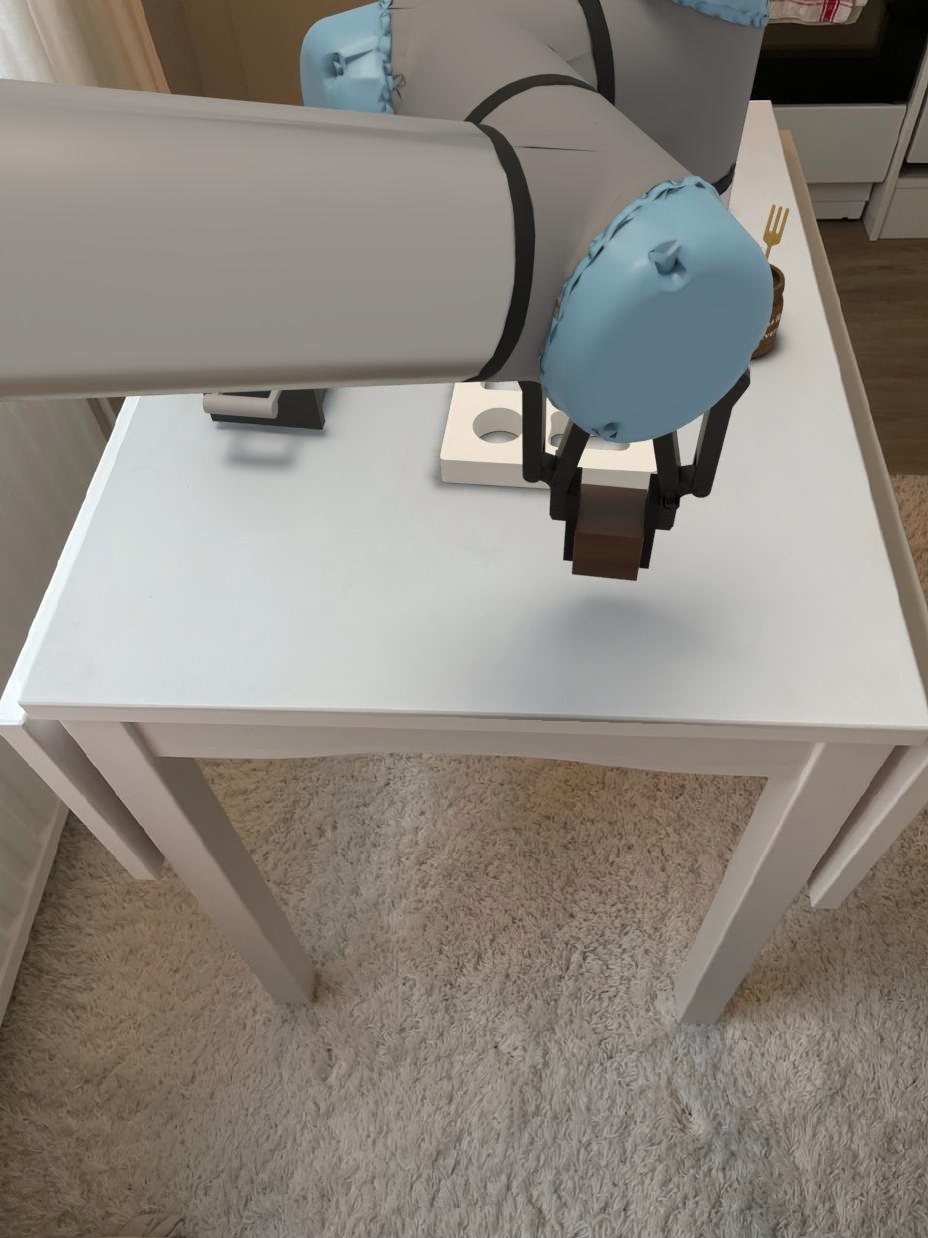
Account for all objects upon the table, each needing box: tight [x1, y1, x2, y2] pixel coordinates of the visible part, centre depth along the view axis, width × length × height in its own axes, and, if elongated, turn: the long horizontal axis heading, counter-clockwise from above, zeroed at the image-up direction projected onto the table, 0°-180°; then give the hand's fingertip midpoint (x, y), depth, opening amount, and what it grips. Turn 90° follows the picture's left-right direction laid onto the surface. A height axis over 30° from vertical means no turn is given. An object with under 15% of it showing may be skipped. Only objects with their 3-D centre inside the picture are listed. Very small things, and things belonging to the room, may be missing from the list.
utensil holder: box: [751, 204, 790, 359], centre depth 86 cm, size 6×6×12 cm
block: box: [571, 483, 648, 582], centre depth 66 cm, size 4×4×4 cm
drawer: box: [202, 388, 330, 431], centre depth 85 cm, size 18×10×9 cm, turn 170°
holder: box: [439, 382, 658, 493], centre depth 93 cm, size 45×18×3 cm, turn 172°
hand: (607, 549), depth 67 cm, fingers closed on block, 4 cm apart
